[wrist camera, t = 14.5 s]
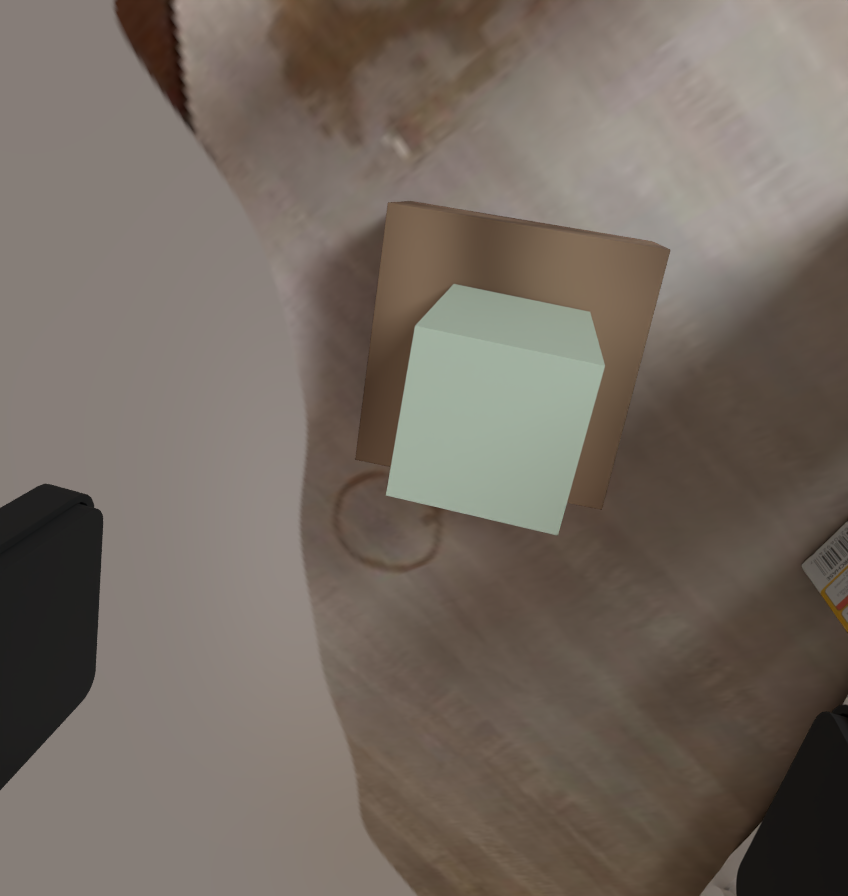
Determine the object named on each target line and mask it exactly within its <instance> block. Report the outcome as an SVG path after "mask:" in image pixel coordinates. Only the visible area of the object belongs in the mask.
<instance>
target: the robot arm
mask: <svg viewBox="0 0 848 896" xmlns="http://www.w3.org/2000/svg"><path fill="white" fill-rule="evenodd" d="M102 535H103V515H102V513H101V511H100V510H99V509H96V508H94V503H93V501H92V499H91V497H90V496H88V495H86V494H83V493H79V492H76V491H72V490H69V489H65V488H61V487H58V486H54V485H50V484H43V485H40V486H38V487H36V488H34V489H33V490H31V491H29V492H27V493H26V494H24V495H22V496H20V497H19V498H17V499H15V500H13V501H12V502H10V503H8V504H6V505H5V506H3V507H1V508H0V790H1V789H2V788H3V787H4V786H5V784H6V783H7V782H8V781H9V780H10V779H11V778H12V777H13V776H14V775H15V774H16V773H17V771H18V770H19V769H20V768H21V767H22V766H23V765H24V764H25V763H26V762H27V761H28V760H29V758H30V757H31V756H32V755H33V754H34V753H35V752H36V751H37V750H38V749H39V748H40V747H41V745H42V744H43V743H44V742H45V741H46V740H47V739H48V738H49V737H50V736H51V735H52V734H53V732H54V731H55V730H56V729H57V728H58V727H59V726H60V725H61V724H62V723H63V722H64V720H65V719H66V718H67V717H68V716H69V715H70V714H71V713H72V712H73V711H74V710H75V709H76V707H77V706H78V705H79V704H80V703H81V702H82V701H83V699H84V698H85V697H86V695H87V693H88V692H89V690H90V688H91V686H92V683H93V680H94V677H95V670H96V650H97V630H98V611H99V593H100V591H99V590H100V572H101V554H102V553H101V552H102ZM736 894H737V896H848V705H846V704H845V705H839V706H838V707H836V708H835V709H834V710H833V711H832V713H830V712H822V713H820V714H819V715H818V716H817V717H816V719H815V720H814V722H813V724H812V726H811V728H810V730H809V732H808V734H807V736H806V738H805V740H804V741H803V743H802V745H801V747H800V749H799V751H798V753H797V755H796V757H795V759H794V761H793V763H792V765H791V767H790V769H789V770H788V772H787V774H786V776H785V778H784V780H783V782H782V784H781V786H780V788H779V790H778V792H777V794H776V796H775V797H774V799H773V801H772V803H771V805H770V807H769V809H768V811H767V813H766V815H765V817H764V819H763V821H762V823H761V824H760V826H759V828H758V830H757V832H756V834H755V836H754V838H753V840H752V842H751V844H750V846H749V848H748V850H747V852H746V853H745V855H744V857H743V859H742V861H741V863H740V866H739V868H738V872H737V878H736Z"/></svg>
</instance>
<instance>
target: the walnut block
mask: <svg viewBox="0 0 848 896" xmlns="http://www.w3.org/2000/svg"><path fill="white" fill-rule="evenodd" d="M669 254H670V249H668V248H665V247H663V246H661V245H659V244H657V243H654V242H652V241H647V240H641V239H635V238H629V237H623V236H617V235H611V234H605V233H599V232H593V231H587V230H581V229H575V228H569V227H563V226H557V225H551V224H545V223H539V222H533V221H527V220H521V219H515V218H509V217H503V216H497V215H491V214H485V213H479V212H473V211H467V210H461V209H455V208H449V207H443V206H437V205H431V204H425V203H419V202H413V201H405V202H389V203H388V206H387V214H386V222H385V230H384V238H383V246H382V254H381V261H380V269H379V277H378V285H377V293H376V301H375V309H374V317H373V324H372V332H371V340H370V348H369V356H368V364H367V372H366V379H365V387H364V395H363V403H362V411H361V419H360V427H359V434H358V442H357V450H356V458H355V460H359V461H364V462H369V463H374V464H379V465H384V466H389V467H391V463H392V457H393V451H394V445H395V439H396V434H397V428H398V422H399V416H400V410H401V405H402V399H403V393H404V387H405V381H406V375H407V370H408V364H409V358H410V352H411V346H412V341H413V335H414V329H415V325H416V324H417V323H418V322H419V321H420V320H421V319H422V318H423V317H424V316H425V314H426V313H427V312H428V311H429V310H430V309H431V308H432V307H433V306H434V305H435V304H436V303H437V301H438V300H439V299H440V298H441V297H442V296H443V295H444V294H445V293H446V292H447V291H448V290H449V289H450V287H451V286H452V285H453V284H457V285H462V286H467V287H472V288H476V289H481V290H486V291H491V292H496V293H501V294H506V295H511V296H515V297H520V298H525V299H530V300H535V301H540V302H545V303H550V304H555V305H559V306H564V307H569V308H574V309H579V310H584V311H589V312H590V313H591V317H592V320H593V324H594V328H595V331H596V335H597V338H598V342H599V346H600V349H601V353H602V357H603V360H604V364H605V368H604V371H603V375H602V379H601V382H600V386H599V389H598V393H597V397H596V400H595V404H594V407H593V411H592V415H591V418H590V422H589V425H588V429H587V433H586V436H585V440H584V443H583V447H582V450H581V454H580V458H579V461H578V465H577V468H576V472H575V476H574V479H573V483H572V486H571V490H570V494H569V497H568V501H567V503H571V504H576V505H580V506H585V507H590V508H595V509H600V510H602V507H603V503H604V499H605V495H606V491H607V488H608V484H609V480H610V476H611V473H612V469H613V465H614V461H615V457H616V454H617V450H618V446H619V442H620V439H621V435H622V431H623V427H624V423H625V420H626V416H627V412H628V408H629V405H630V401H631V397H632V393H633V389H634V386H635V382H636V378H637V374H638V371H639V367H640V363H641V359H642V356H643V352H644V348H645V344H646V340H647V337H648V333H649V329H650V325H651V322H652V318H653V314H654V310H655V306H656V303H657V299H658V295H659V291H660V288H661V284H662V280H663V276H664V272H665V269H666V265H667V261H668V257H669Z"/></svg>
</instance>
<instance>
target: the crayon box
mask: <svg viewBox="0 0 848 896" xmlns="http://www.w3.org/2000/svg"><path fill="white" fill-rule="evenodd" d="M802 568H803V570H804V572H805V573H806V574H807V576H808V577H809V578H810V580H811V581H812V583H813V584H814V586H815V587H816V589H817V590H818V591H819V593H820V594H821V596H822V597H823V598H824V600H825V601H826V603H827V604H828V606H829V607H830V608H831V610H832V611H833V612H834V614H835V616H836V617H837V618H838V620H839V621H840V623H841V624H842V625H843V627H844V628H845V630H846V631H847V633H848V521H847V522H846V523H845V524H844V525H843V526H842V527H841V528H840V529H839V530H838V531H837V532H836V533H835V534H834V535H833V536H832V537H830V538H829V539H828V540H827V541H826V542H825V543H824V544H823V545H822V546H821V547H820V548H819V549H818V550H817V551H816V552H815V553H814V554H813V555H812V556H811V557H809V558H808V559H807V560H805V562H804V563H803V564H802Z"/></svg>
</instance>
